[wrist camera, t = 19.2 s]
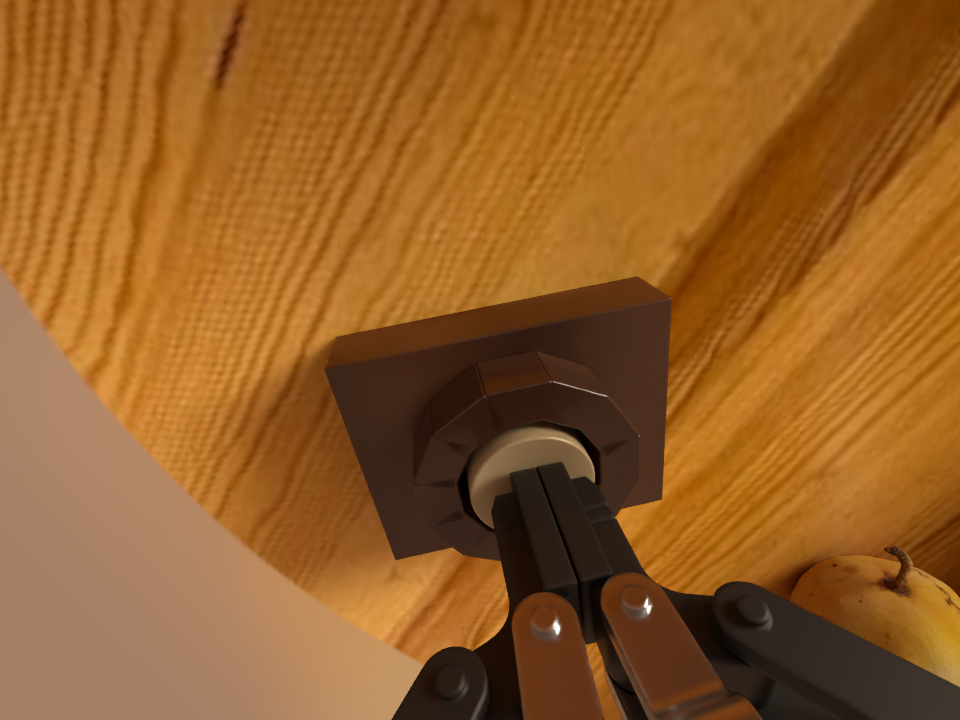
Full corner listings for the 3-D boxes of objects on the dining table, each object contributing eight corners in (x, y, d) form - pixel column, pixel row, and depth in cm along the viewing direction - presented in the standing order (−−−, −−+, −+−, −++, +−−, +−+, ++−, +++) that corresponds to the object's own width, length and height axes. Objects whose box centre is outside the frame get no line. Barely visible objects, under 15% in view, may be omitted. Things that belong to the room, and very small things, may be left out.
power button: (473, 503, 15) (481, 547, 13) (453, 416, 13) (459, 454, 12) (578, 480, 15) (597, 520, 13) (572, 391, 13) (593, 424, 12)
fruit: (900, 634, 16) (817, 769, 21) (1119, 652, 15) (984, 788, 20) (800, 499, 22) (753, 625, 27) (953, 506, 22) (879, 635, 26)
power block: (396, 514, 18) (393, 608, 14) (335, 336, 14) (310, 404, 11) (636, 461, 18) (689, 539, 15) (638, 275, 15) (710, 321, 11)
